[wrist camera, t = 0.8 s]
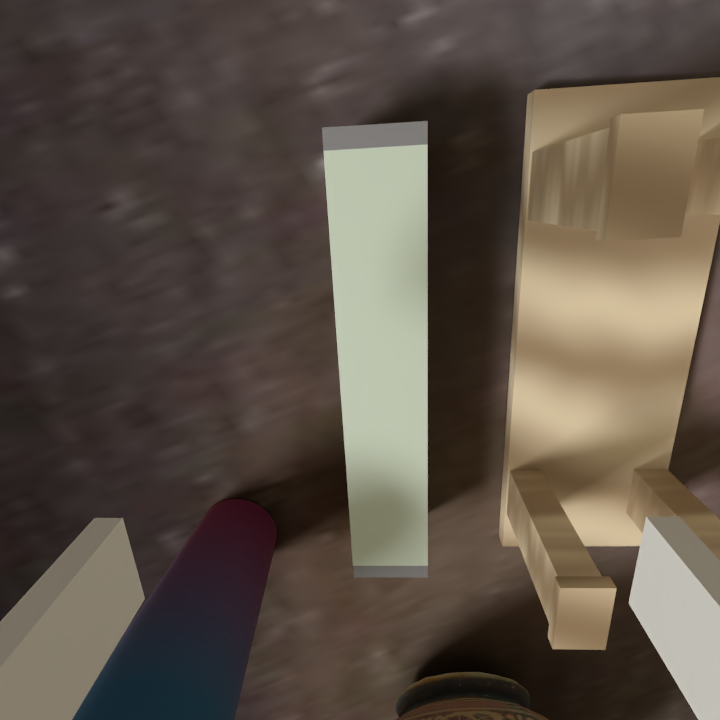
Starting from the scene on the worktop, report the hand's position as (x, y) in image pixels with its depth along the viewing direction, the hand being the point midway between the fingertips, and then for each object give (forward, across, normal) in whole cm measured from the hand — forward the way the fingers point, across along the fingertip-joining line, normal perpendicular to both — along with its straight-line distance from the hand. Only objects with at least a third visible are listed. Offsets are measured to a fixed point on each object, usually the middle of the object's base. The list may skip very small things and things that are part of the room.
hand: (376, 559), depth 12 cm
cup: (+15, -10, -12) cm, 21 cm away
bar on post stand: (+15, +12, 0) cm, 19 cm away
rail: (+15, 0, 0) cm, 15 cm away
